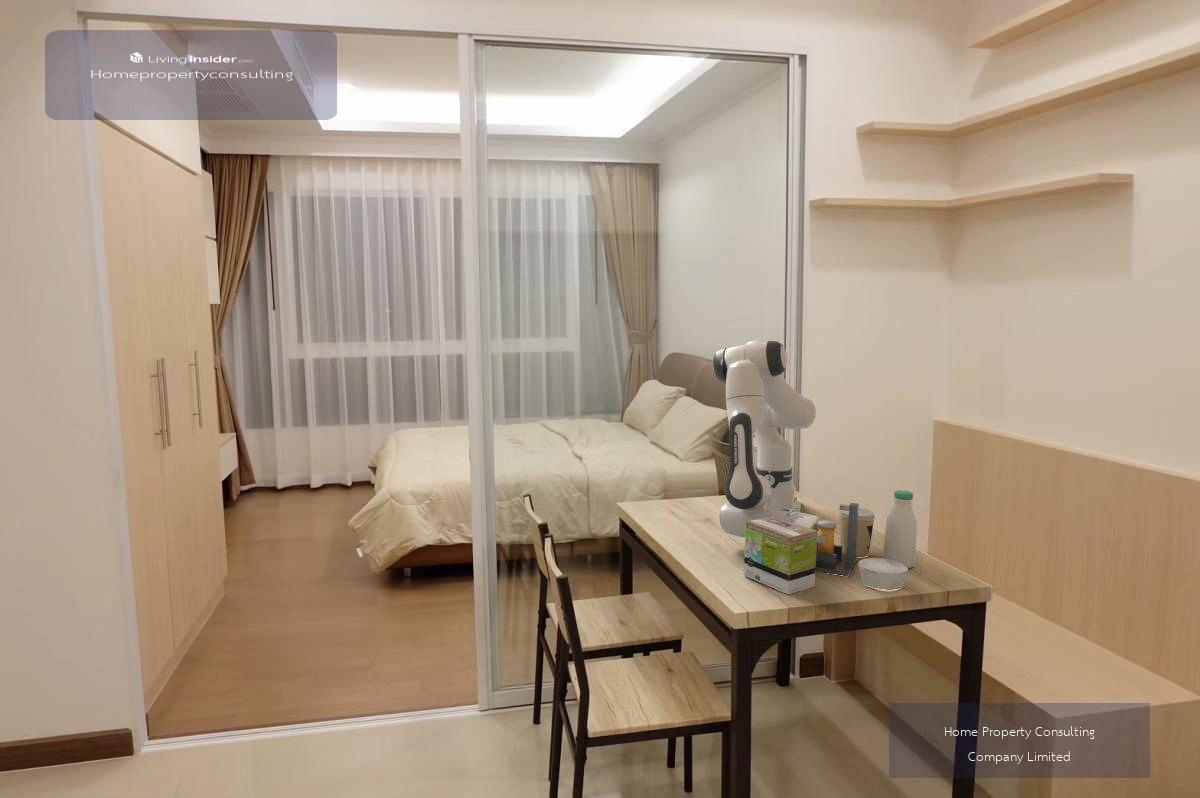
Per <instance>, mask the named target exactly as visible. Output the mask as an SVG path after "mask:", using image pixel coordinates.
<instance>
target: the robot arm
mask: <svg viewBox="0 0 1200 798" xmlns="http://www.w3.org/2000/svg"><path fill="white" fill-rule="evenodd" d="M787 365H788V353H787V350H786V349H785V347H784V345H783V343H781V342H779V341H777V340H776V341H775V340H768V341H764V340H762V339H761V340H760V339H755V340H751V341H748V342H747V343H745V344H740V345H735V346H732V347H729V348H727V347H724V348H722V349H719V350H717V351H716V353H715V354H714V355H713V359H712V369H713V373H714V376H715V377H716V379H717V380H718V381H720V382H721V383H724V384H725V403H726V412H727V414H726V415H727V420H728V430H729V433H728V434H729V437H728V440H729V442H728V443H729V471H728V475H727V478H726V480H725V484H724V494H725V498H726V500H727V501H726V502H725V503H724V504H723V505H722V506H721V507H720V511H719V522H720V523H719V524H720V526H721V529H722V530H723V531H724V532H725V533H726V534H729V535H730V536H735V537H739V538H744V539H745V537H746V521H747V522H748V521H753V520H757V519H761V518H765V517H769V516H774V517H777V518H780V519H783V520H786V521H789V522H792V523H795V524H798V525H801V526H804V527H807V528H810V529H813V530H816V531H818V532H819V527H818V526H817V524H818V521H821V519H820V517H819V516H817V515H814V514H811V513H805V512H801V509H802V500H801V499H798V497H796V486H795V484H794V482H793V467H792V456H793V455H792V453H793V449H792V446H791V444H790V442H789V441H788V440H786V439H785V438H784V437H782V436H781V434H780V433H779V430H778V428H779V429H788V430H800V429H802V430H803V429H808V428H810V427H811V426H812V424H813V423H814V421H815V420H816V415H817V410H816V406H815V405H814V402H813V401H812V400H811V399H810V398H807V397H805V396H803V395H802V394H800V393H799V392H798V391H796V390H795V389H794V387H792V386H791V385H790V384H789V383H788V382H787V381H786V379H785V377H784V372H785V371H786V369H787ZM754 438H755V441H756V451H757V454H756V455H757V459H756V461H757V462H756V464H757V465H756V466H755V462H754ZM826 541H827V536H826V535H822V534H820V535H819V534H817V543H818V542H820V543H826Z"/></svg>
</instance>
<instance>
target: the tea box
mask: <svg viewBox="0 0 1200 798" xmlns="http://www.w3.org/2000/svg"><path fill="white" fill-rule="evenodd" d="M818 534H819V531H816V530H813V529H810V528H807V527H804V526H801V525H798V524H795V523H792V522H789V521H786V520H783V519H780V518H777V517H774V516H769V517H765V518H761V519H757V520H753V521H748V522H747V521H746V537H745V538H744V558H743V559H744V560H743V561H744V563H743V577H745V578H749V579H751V580H754V581H756V582H758V583H761V584H762V585H765V586H767V587H769V588H771V589H773V588H774V589H773V590H775V591H779V593H782V592H783V593H782V594H784V593H786V594H790V595H792V594H791V593H794V594H796V593H795V592H797V593H799V592H798V591H800V592H803V591H806V590H809V588H810V589H812V588H814V587H815V581H816V580H815V578H816V572H815V567H816V551H817V535H818ZM805 589H806V590H805ZM802 590H803V591H802ZM786 594H785V595H786Z"/></svg>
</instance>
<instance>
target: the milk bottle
mask: <svg viewBox="0 0 1200 798" xmlns="http://www.w3.org/2000/svg"><path fill="white" fill-rule="evenodd" d="M893 492H894V493H893V497H894V498H893V500H894V503H893V505H892V508H891V510H890V511H889V514H888V516H887V518H886V522H885V533H884V545H883V559H888V560H892V561H896V562H899V563H901V564H903V565H904V566H906V567H907V568H911V567H913V568H914V567H915V560H916V559H915V557H916V547H917V545H916V544H917V533H918V532H917V531H918V529H917V528H918V526H917V517H916V515H915V513H914V510H913V507H912V502H913V499H914V493H913V492H911V491H909V490H895V491H893ZM911 569H912V568H911Z"/></svg>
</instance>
